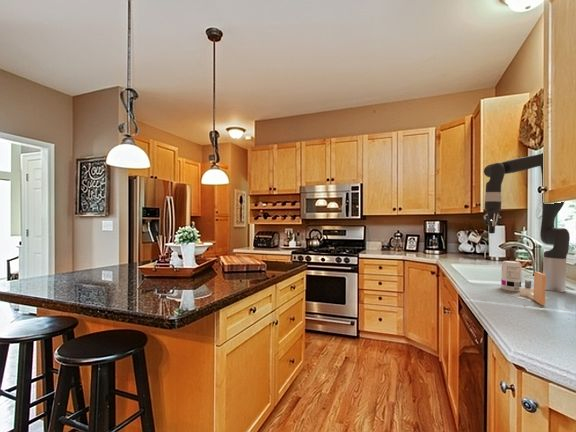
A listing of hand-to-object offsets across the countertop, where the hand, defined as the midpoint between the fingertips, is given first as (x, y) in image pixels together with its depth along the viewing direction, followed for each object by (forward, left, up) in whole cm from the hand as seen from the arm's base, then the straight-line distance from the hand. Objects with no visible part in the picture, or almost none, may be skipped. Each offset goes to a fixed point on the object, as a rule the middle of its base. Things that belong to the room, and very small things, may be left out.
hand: (491, 233), depth 168 cm
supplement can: (-3, +9, -29) cm, 31 cm away
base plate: (+4, +21, -29) cm, 36 cm away
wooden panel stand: (+9, +26, -28) cm, 39 cm away
